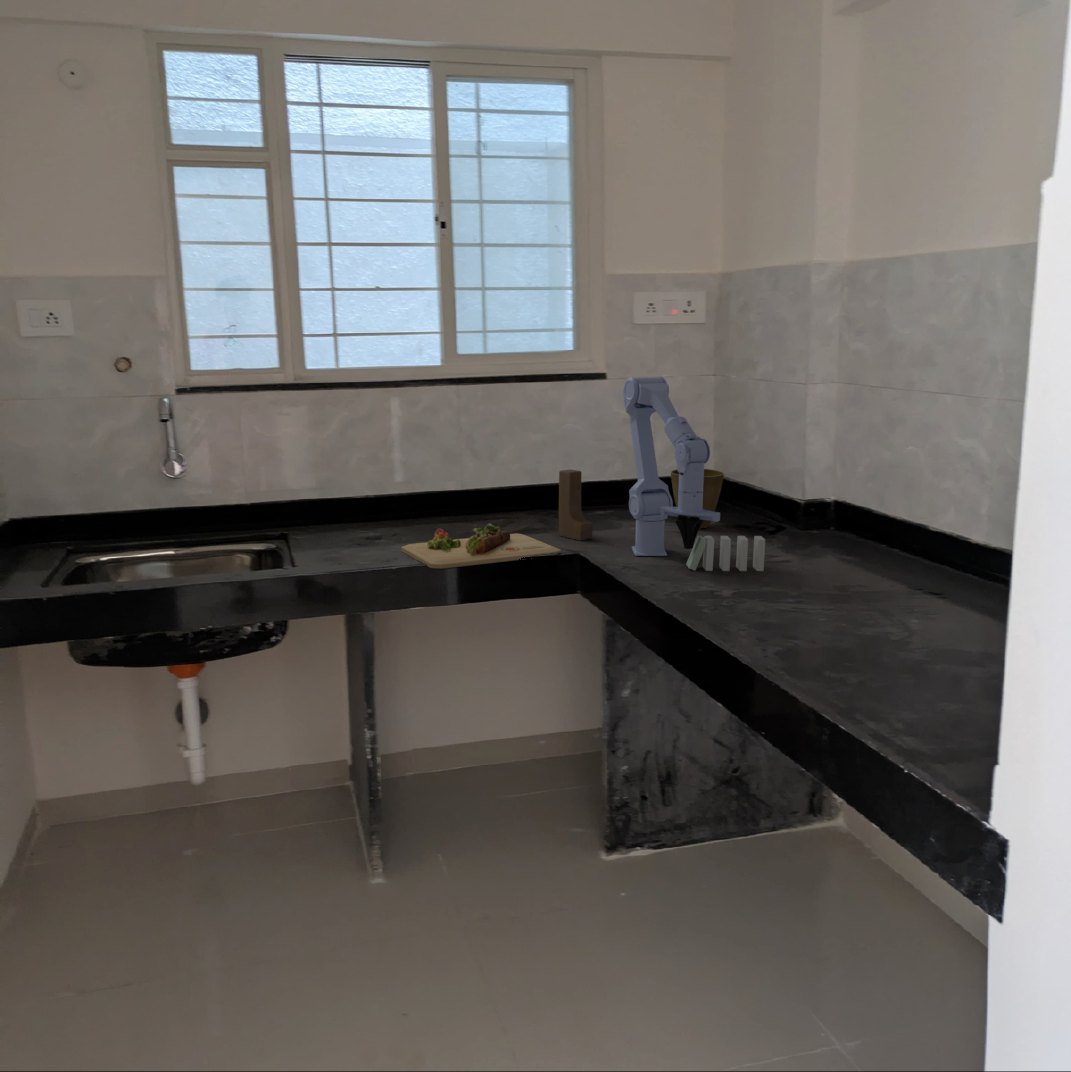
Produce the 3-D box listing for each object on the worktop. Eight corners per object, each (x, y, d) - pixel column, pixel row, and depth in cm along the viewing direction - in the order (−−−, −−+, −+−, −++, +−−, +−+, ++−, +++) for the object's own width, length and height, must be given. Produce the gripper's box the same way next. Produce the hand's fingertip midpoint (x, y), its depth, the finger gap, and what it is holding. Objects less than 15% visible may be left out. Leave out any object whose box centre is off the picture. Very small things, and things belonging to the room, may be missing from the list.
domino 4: (736, 566, 235) (737, 535, 234) (742, 566, 235) (744, 535, 234) (739, 571, 231) (741, 539, 229) (746, 571, 231) (748, 539, 229)
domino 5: (752, 566, 235) (754, 536, 234) (759, 566, 235) (761, 536, 234) (756, 571, 231) (758, 539, 229) (763, 571, 231) (765, 539, 229)
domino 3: (719, 566, 235) (720, 535, 234) (726, 566, 235) (727, 535, 234) (722, 570, 231) (724, 539, 229) (729, 570, 231) (731, 539, 229)
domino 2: (702, 566, 235) (704, 535, 234) (709, 566, 235) (711, 535, 234) (705, 570, 231) (707, 539, 229) (712, 570, 231) (714, 539, 229)
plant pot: (659, 524, 286) (660, 469, 282) (702, 520, 292) (704, 467, 288) (687, 534, 272) (689, 476, 269) (732, 529, 279) (734, 473, 275)
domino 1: (686, 564, 235) (697, 535, 234) (692, 566, 235) (704, 537, 234) (689, 568, 231) (701, 539, 229) (695, 570, 231) (707, 541, 230)
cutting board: (433, 572, 231) (432, 541, 230) (399, 552, 251) (398, 523, 250) (563, 557, 247) (563, 528, 245) (521, 539, 267) (521, 512, 266)
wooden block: (592, 538, 265) (593, 472, 262) (580, 541, 263) (581, 474, 259) (569, 533, 272) (570, 469, 268) (557, 535, 269) (558, 470, 266)
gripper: (726, 492, 228) (724, 549, 231) (671, 486, 237) (669, 541, 239) (713, 496, 223) (711, 554, 226) (656, 489, 231) (655, 546, 234)
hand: (688, 548), depth 232 cm, fingers closed
